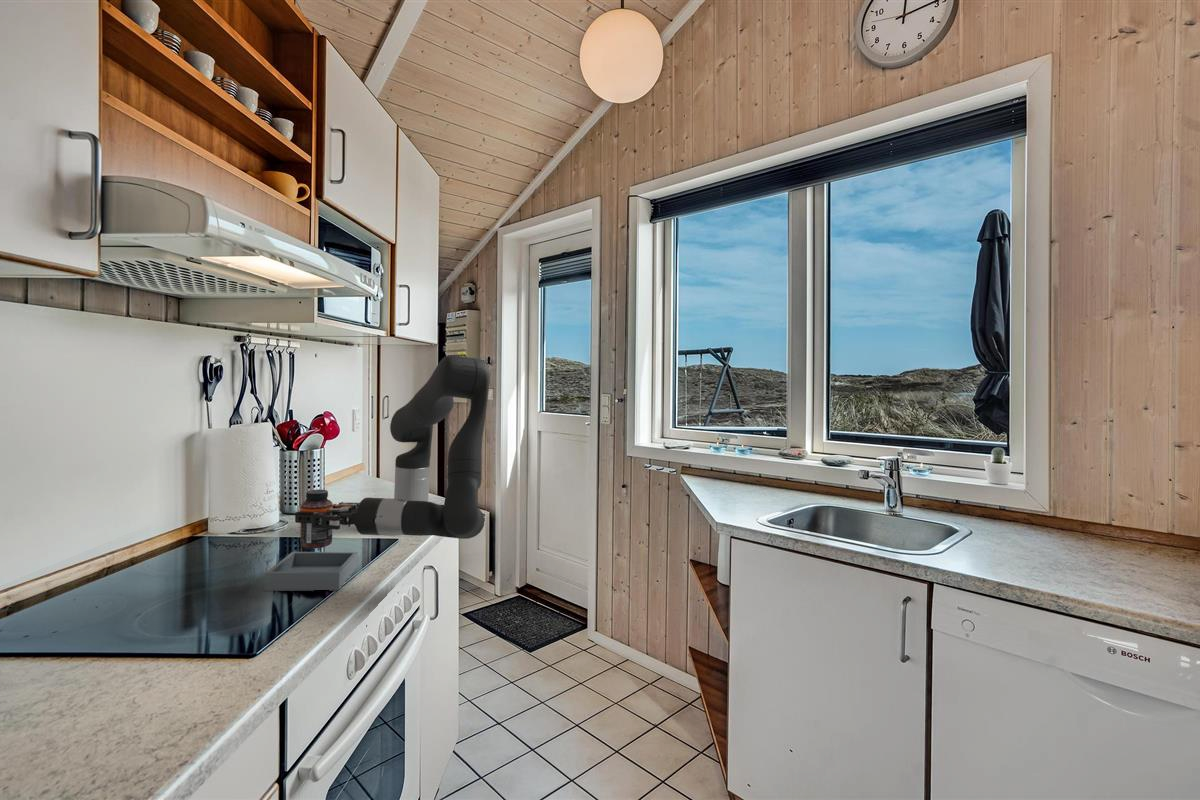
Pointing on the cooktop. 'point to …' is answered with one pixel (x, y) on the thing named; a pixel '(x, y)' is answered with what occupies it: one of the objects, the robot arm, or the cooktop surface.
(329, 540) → the supplement bottle
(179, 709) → the cooktop surface
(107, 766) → the cooktop surface
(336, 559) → the tray
